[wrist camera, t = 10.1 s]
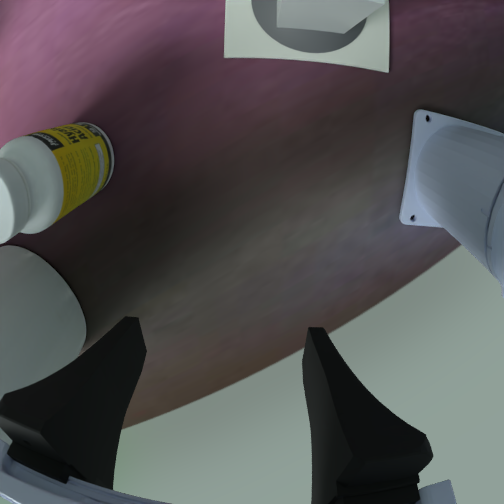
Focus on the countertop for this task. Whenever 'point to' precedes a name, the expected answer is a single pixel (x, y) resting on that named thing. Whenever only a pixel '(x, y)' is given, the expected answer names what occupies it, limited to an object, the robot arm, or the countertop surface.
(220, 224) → the countertop surface
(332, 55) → the white flat block
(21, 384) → the utensil holder
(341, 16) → the teal capped white bottle
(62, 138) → the supplement bottle
